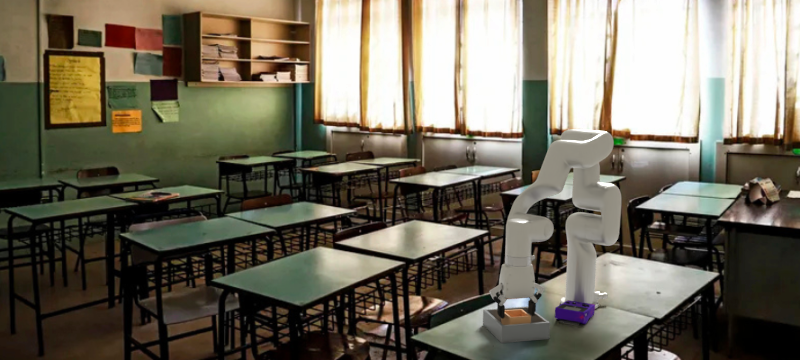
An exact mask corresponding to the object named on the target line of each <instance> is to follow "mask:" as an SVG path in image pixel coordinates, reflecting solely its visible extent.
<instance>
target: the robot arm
mask: <svg viewBox="0 0 800 360" xmlns="http://www.w3.org/2000/svg"><path fill="white" fill-rule="evenodd" d="M613 148H614V138H613V136H612V134H611V133H610V132H608V131H605V130H594V129H583V128H582V129H580V128H576V129H567V130H564V131H563V132H562V133H561V135H560V139H557V140H555V141H553V142H551V143H550V144H549V147H548V149H547V152H546V154H545V157H544V160H543V161H542V164H541V166H540V167H541V168H540V170H539V173H538V175H537V177H536V180H535V181H534V182H533V183H532V184H530V185H529V186H528V187H526V188H525V189H524V190H522V192H521V193H520V194H519V195H517V196H516V198H515V200H514V201H513V203H512V204H511V205H512V206H511V209H510V211H509V214H508V215H507V220H506V224H505V251H504V252H505V254H504V255H505V256H504V259H505V260H504V263H502V265H501V268H500V272H499V273H500V274H499V280H498V285H497V286H495V287H493V288H491V289H489V291H488V292H489V294H490V296H491V298H492V300H493V301H494V302H495V303H496V304H497V306H496V307H497V308H496V309H497V314H498V315H499V316H500V317H501V318H502V319H504V318H505V308H506V306H505V305H504V304H505V303H506V301H507V300H517V299H527V298H529V299H528V302H527V303H528V304H527V305H528V313H529V314H530V315H532V316H534V315H535V312H536V311H537V310H536V308H537V303H538V302H539V299H540V298H541V297H542V295H543V293H544V291H545V289H546V288H545V287H544V286H542V285H541V284H539V283H536V281H535V280H536V279H535V272H534V267H533V264H532V261H535V260H536V257H535V255H532V243H536V242H537V243H539V242H540V243H541V242H545V241H547V240H549V239H550V238H551V237H552V236H553V233H554V231H555V229H554V228H555V227H554V224H553V223H554V222H553V221H552V220H551V219H549V218H547V217H545V216H541V215H535V214H530V213H528V211H529V209H530V208H531V207H532V206H533V205H534V204H535V203H537V202H539V201H542V200H544V199H548V198H550V197H553V196H556V195H558V194H560V193H562V192H563V190H564V188H565V184H566V182H567V179H568V176H569V173H570V171H571V169H573V170H572V171H573V174H572V175H573V176H572V177H573V178H572V193H571V194H572V195H571V198H572V200H571V201H572V203H573V205H574V206H575V207H576V208H579V209H583V210H587V211H595V212H600V213H601V215H600V214H595V213H589V212H581V211H580V212H579V211H578V212H574V213H571V214H570V215H568V217H567V219H566V220H565V234H566V240H567V242H566V243H567V256H566V257H567V258H566V274H565V275H566V276H565V277H566V278H565V279H566V280H565V296H563V297H561V298H560V305H561V304H562V303H564V302H566V301H567V300H570V301H576V302H582V303H588V304H595V310H596V309H597V308H598V307H599V306H600V305H599V304H600V302H599V300H603V299H604V300H605V299H608V295H609V294H608V293H607V292H600V291H596V273H597V252H596V248H595V247H594V244H595V245H601V246H608V247H609V246H613V245H614V244H616V242H617V240H618V239H619V235H620V228H621V214H622V193H621V190H620V189H619V187H618V186H617V185H615V184H614V183H609V182H601V180H600V179H601V178H600V177H601V176H600V175H601V167H600V162H602V161H603V160H605V159H607V157H608V156H610V154H611V153H612V151H613ZM536 290H537V291H536ZM535 291H536V292H535ZM497 293H498V295H499V296H497Z"/></svg>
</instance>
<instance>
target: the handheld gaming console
mask: <svg viewBox="0 0 800 360" xmlns="http://www.w3.org/2000/svg"><path fill="white" fill-rule="evenodd" d="M595 310H596V309H595V304H588V303H582V302H576V301H570V300H567V301H566V302H564V303H562V304H561V303H560V304H559V305H558V306H556V307H555V309H554V318H555V319H556V320H559V323H561V324H565V325H570V326H577V327H579V325H580V324H582V325H586V324H587V323H588V321H589V319H591V318H592V317H593V316H594V314H595V312H596V311H595Z"/></svg>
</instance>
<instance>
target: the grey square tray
mask: <svg viewBox="0 0 800 360" xmlns="http://www.w3.org/2000/svg"><path fill="white" fill-rule="evenodd" d="M516 309H522V310H524V311H525V312H526V313H528V306H515V307H512V306H511V307H505V310H516ZM482 312H483V313H482V326H483V325H484V326H485V327H486V328H487V329H488V330H487V329H486V328H485V327H484V326H483V327H484V328H485V329H486V330H487V331H488V332H489V333H491V335H493V337H495V339H497V340H498V341H499V342H500V343H501V344H504V343H515V342H517V343H518V342H519V343H520V342H527V341H528V342H530V341H539V340H550V331H551V322H550V321H549V320H547V319H546V318H545V317H543V316H542V315H540V314H539V313H538V312H535V315H534V316H532V315H530V314H529V313H528V314H529V315H530V316H531V323H525V324H512V325H503V324H502V323H501V317H500V316H499V315H498V314H497V308H488V309H485V308H484V309H483V310H482Z"/></svg>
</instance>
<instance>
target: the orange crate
mask: <svg viewBox="0 0 800 360" xmlns="http://www.w3.org/2000/svg"><path fill="white" fill-rule="evenodd" d="M501 323H502V324H503V325H512V324H525V323H531V316H530V315H529V314H528V313H526V312H525V311H524V310H522V309H516V310H505V318H504V319H502V318H501Z"/></svg>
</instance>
